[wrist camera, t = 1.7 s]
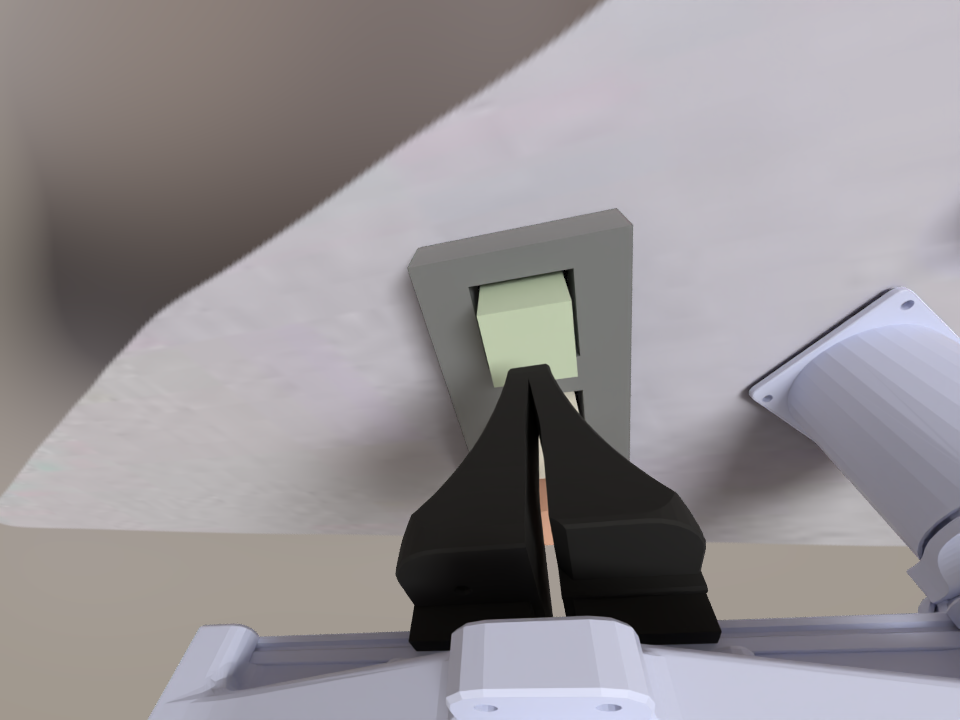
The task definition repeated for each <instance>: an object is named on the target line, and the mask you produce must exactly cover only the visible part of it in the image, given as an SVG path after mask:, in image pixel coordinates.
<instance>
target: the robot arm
mask: <svg viewBox="0 0 960 720" xmlns="http://www.w3.org/2000/svg"><path fill="white" fill-rule="evenodd" d="M904 302H905V303H904ZM903 303H904V304H903ZM902 304H903V305H902ZM749 395H750V396H751V398H752V399H753V400H754V401H756V402H757V403H759V404H760V405H762V406H763V407H765V408H766V409H767V410H769V411H770V412H772V413H773V414H775V415H776V416H778V417H779V418H781V419H782V420H783V421H785V422H786V423H788V424H789V425H791V426H792V427H794V428H795V429H796V430H798V431H799V432H801V433H802V434H804V435H805V436H807V437H808V438H810V439H811V440H812V441H814V442H815V443H816V444H817V445H818V446H819V447H820V448H821V449H822V451H823V452H824V453H825V454H826V455H827V456H828V457H829V458H830V460H831V461H832V462H833V463H834V464H835V465H836V466H837V467H838V469H839V470H840V471H841V472H842V473H843V474H844V475H845V476H846V478H847V479H848V480H849V481H850V482H851V483H852V484H853V485H854V487H855V488H856V489H857V490H858V491H859V492H860V493H861V494H862V495H863V497H864V498H865V499H866V500H867V501H868V502H869V503H870V504H871V506H872V507H873V508H874V509H875V510H876V511H877V512H878V513H879V515H880V516H881V517H882V518H883V519H884V520H885V521H886V522H887V524H888V525H889V526H890V527H891V528H892V529H893V530H894V531H895V533H896V534H897V535H898V536H899V537H900V538H901V539H902V540H903V542H904V543H905V544H906V545H907V546H908V547H909V548H910V549H911V550H912V552H913V553H914V554H915V555H916V556H917V557H918V558H919V560H920V561H919V562H918V563H917V564H916V565H915V566H913V567H911V568H910V569H908V570H907V573H908V575H909V576H910V577H911V578H912V579H913V580H914V582H915V583H916V584H917V585H918V586H919V588H920V589H921V590H922V591H923V592H924V593H925V595H926V596H927V597H926V598H925V599H923V600H922V602H921V603H920V605H919V607H918V613H909V614H881V615H852V616H825V617H796V618H772V619H771V618H769V619H742V620H717V619H716V616H715V614H714V611H713V609H712V606H711V604H710V602H709V599H708V597H707V594H706V593H707V592H708V588H707V585H706V582H705V580H704V577H703V575H702V572H701V567H702V562H703V558H704V554H705V550H706V540H705V538H704V536H703V533H702V531H701V529H700V527H699V525H698V524H697V522H696V520H695V519H694V517H693V515H692V514H691V512H690V511H689V509H688V508H687V506H686V505H685V504H684V502H683V501H682V499H681V498H680V497H679V495H678V494H677V493H676V492H674V491H673V490H671V489H669V488H668V487H666V486H664V485H663V484H661V483H660V482H658V481H657V480H655V479H654V478H652V477H650V476H649V475H648V474H646V473H645V472H643V471H642V470H641V469H639V468H638V467H636V466H635V465H634V464H632V463H631V462H630V461H629V460H627V459H626V458H625V457H624V456H622V455H621V454H620V453H619V452H618V451H616V450H615V449H614V448H613V447H611V446H610V445H609V444H608V443H607V442H606V441H605V440H604V439H603V438H602V437H601V436H600V435H599V434H598V433H597V432H596V431H595V430H594V429H593V428H592V427H591V426H590V425H589V424H588V423H587V422H586V421H585V420H584V419H583V417H582V416H581V415H580V414H579V413H578V411H577V410H576V409H575V408H574V406H573V405H572V404H571V403H570V401H569V400H568V398H567V397H566V396H565V394H564V393H563V391H562V390H561V388H560V387H559V385H558V383H557V382H556V380H555V378H554V376H553V374H552V372H551V369H550V366H549V365H547V364H539V365H532V366H525V367H519V368H512V369H510V370H509V371H508V373H507V377H506V381H505V384H504V387H503V390H502V392H501V395H500V397H499V400H498V402H497V404H496V407H495V409H494V411H493V413H492V415H491V417H490V419H489V421H488V423H487V425H486V427H485V429H484V430H483V432H482V434H481V436H480V437H479V439H478V440H477V442H476V443H475V445H474V447H473V448H472V450H471V451H470V452H469V454H468V455H467V456H466V458H465V459H464V461H463V462H462V463H461V465H460V466H459V467H458V468H457V470H456V471H455V472H454V473H453V474H452V475H451V477H450V478H449V479H448V480H447V481H446V482H445V483H444V484H443V485H442V487H441V488H440V489H439V490H438V491H437V492H436V493H435V494H434V495H433V496H432V497H431V498H430V499H429V500H428V501H427V502H426V503H424V504H423V505H422V506H421V507H420V508H419V509H418V510H417V511H416V512H415V513H413V514H412V515H411V517H410V520H409V523H408V525H407V528H406V531H405V534H404V537H403V540H402V544H401V548H400V552H399V557H398V562H397V567H396V577H397V580H398V582H399V583H400V585H401V586H402V588H403V589H404V590H405V592H406V594H407V595H408V596H409V598H410V599H411V601H412V602H413V604H414V611H413V617H412V623H411V629H410V631H408V632H407V631H404V632H378V633H377V632H376V633H349V634H323V635H322V634H320V635H292V636H264V637H259V635H258V634H257V633H256V632H255V631H254V630H253V629H252V628H250V627H248V626H245V625H241V624H217V625H203V626H201V627H199V629H198V631H197V633H196V634H195V636H194V638H193V640H192V642H191V643H190V645H189V647H188V649H187V651H186V652H185V654H184V656H183V658H182V659H181V661H180V663H179V665H178V667H177V668H176V670H175V672H174V674H173V675H172V677H171V679H170V681H169V683H168V684H167V686H166V688H165V690H164V692H163V693H162V695H161V697H160V699H159V700H158V702H157V704H156V706H155V707H154V709H153V711H152V713H151V715H150V717H149V718H148V720H960V338H959V337H958V336H957V335H956V334H955V333H954V332H953V331H952V330H951V329H950V328H949V327H948V326H947V325H946V324H945V323H944V322H943V321H942V320H941V319H940V318H939V317H938V316H937V315H936V314H935V313H934V312H933V311H932V310H931V309H930V308H929V307H928V306H927V305H926V304H925V303H924V302H923V301H922V300H921V299H920V298H919V297H918V296H917V295H916V294H915V293H914V292H913V291H912V290H910V289H908V288H906V287H897V288H894V289H892V290H890V291H889V292H887V293H886V294H884V295H883V296H881V297H880V298H879V299H877V300H876V301H874V302H873V303H871V304H870V305H869V306H867V307H866V308H864V309H863V310H861V311H860V312H859V313H857V314H856V315H854V316H853V317H851V318H850V319H849V320H847V321H846V322H844V323H843V324H841V325H840V326H839V327H837V328H836V329H834V330H833V331H831V332H830V333H829V334H827V335H826V336H824V337H823V338H821V339H820V340H819V341H817V342H816V343H814V344H813V345H811V346H810V347H809V348H807V349H806V350H804V351H803V352H801V353H800V354H799V355H797V356H796V357H794V358H793V359H791V360H790V361H789V362H787V363H786V364H784V365H783V366H781V367H780V368H779V369H777V370H776V371H774V372H773V373H771V374H770V375H769V376H767V377H766V378H764V379H763V380H761V381H760V382H759V383H757V384H756V385H754V386H753V387H752V388H751V389H750V390H749ZM765 396H766V397H765ZM539 439H540V443H541V448H542V452H543V457H544V467H545V478H546V489H547V502H548V515H549V521H550V526H551V532H552V537H553V542H554V548H555V552H556V558H557V563H558V570H559V577H560V586H561V594H562V599H563V603H564V608H565V613H566V617H553V614H552V606H551V597H550V589H549V580H548V571H547V562H546V553H545V544H544V535H543V526H542V517H541V508H540V493H539Z"/></svg>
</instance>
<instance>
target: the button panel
mask: <svg viewBox="0 0 960 720" xmlns="http://www.w3.org/2000/svg"><path fill="white" fill-rule="evenodd" d="M632 260H633V224H632V223H631V222H630V221H629V220H628V219H627V218H626V217H625V216H624V215H623V214H622V213H621V212H620V211H619V210H618V209H617V208H616V209H611V210H606V211H601V212H596V213H591V214H586V215H581V216H576V217H571V218H566V219H561V220H556V221H551V222H546V223H541V224H536V225H531V226H526V227H520V228H515V229H510V230H505V231H500V232H495V233H490V234H485V235H480V236H475V237H470V238H465V239H460V240H455V241H450V242H445V243H440V244H435V245H430V246H425V247H420V248H418V249H417V251H416V253H415V255H414V257H413V259H412V260H411V262H410V264H409V266H408V268H407V269H408V272H409V275H410V278H411V281H412V284H413V287H414V290H415V292H416V295H417V298H418V301H419V304H420V307H421V310H422V313H423V316H424V319H425V322H426V325H427V328H428V331H429V334H430V337H431V340H432V343H433V346H434V349H435V352H436V355H437V358H438V361H439V364H440V367H441V370H442V373H443V376H444V379H445V382H446V385H447V388H448V391H449V394H450V397H451V400H452V403H453V406H454V409H455V412H456V415H457V418H458V421H459V424H460V427H461V430H462V433H463V436H464V439H465V442H466V445H467V448H468V451H469V452H470V451H471V450H472V448H473V447H474V445H475V443H476V442H477V440H478V439H479V437H480V436H481V434H482V432H483V430H484V429H485V427H486V425H487V423H488V421H489V419H490V417H491V415H492V413H493V411H494V409H495V407H496V404H497V402H498V400H499V397H500V395H501V392H502V390H503V387H504V386H503V387H496V388H494V385H493V380H492V376H491V372H490V368H489V364H488V360H487V356H486V352H485V348H484V344H483V340H482V336H481V332H480V328H479V323H478V319H477V310H478V301H479V292H478V288H477V285H482V284H488V283H494V282H499V281H505V280H510V279H516V278H522V277H527V276H533V275H538V274H544V273H550V272H555V271H561V270H566V269H567V273H568V284H569V295H570V298H571V301H572V312H573V324H574V336H575V348H576V360H577V372H578V377H571V378H563V379H556V382H557V383H558V385H559V387H560V388H561V390H562V391H563V393H564V392H572V391H578V399H579V411H580V415H581V416H582V417H583V419H584V420H585V421H586V422H587V423H588V424H589V425H590V426H591V427H592V428H593V429H594V430H595V431H596V432H597V433H598V434H599V435H600V436H601V437H602V438H603V439H604V440H605V441H606V442H607V443H608V444H609V445H610V446H611V447H613V448H614V449H615V450H616V451H618V452H619V453H620V454H621V455H622V456H624V457H625V458H626V459H627V460H629V461H630V396H631V328H632Z"/></svg>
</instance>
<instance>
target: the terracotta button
mask: <svg viewBox="0 0 960 720" xmlns="http://www.w3.org/2000/svg"><path fill="white" fill-rule="evenodd" d="M539 493H540V508H541V517H542V526H543V535H544V544H545V545H554V542H553V537H552V532H551V526H550V521H549V515H548V502H547V489H546V478H544V479H539Z"/></svg>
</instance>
